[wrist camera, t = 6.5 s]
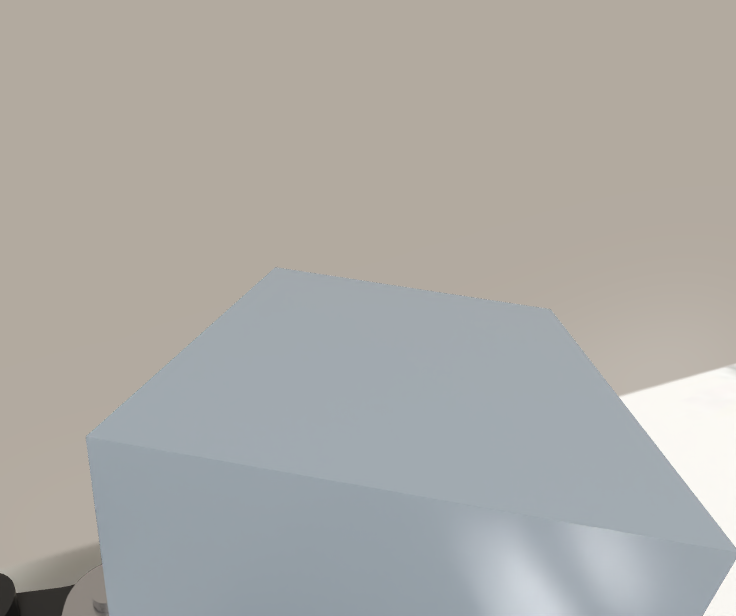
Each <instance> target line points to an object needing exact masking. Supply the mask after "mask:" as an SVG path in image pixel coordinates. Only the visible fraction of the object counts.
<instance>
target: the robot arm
mask: <svg viewBox="0 0 736 616" xmlns="http://www.w3.org/2000/svg"><path fill="white" fill-rule="evenodd" d="M0 616H109V611H108V603H107V596H106V588H105V580H104V573H103V565H102V564H101V565H99V566H97V567H95V568H94V569H92V570H91V571H89V572H88V573H87V574H85V575H84V576H83V577H82V578H81V579H80V580H79V581H78V582H77V583H76V584H75V585H71V586H67V587H62V588H54V589H46V590H38V591H31V592H23V593H16V591H15V587H14V584H13V582H12V580H11V579H10V578H9V577H8V576H6V575H4V574H1V573H0Z"/></svg>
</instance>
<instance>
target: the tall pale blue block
mask: <svg viewBox="0 0 736 616" xmlns="http://www.w3.org/2000/svg"><path fill="white" fill-rule="evenodd" d="M86 442H87V449H88V458H89V465H90V473H91V480H92V488H93V496H94V504H95V511H96V519H97V526H98V534H99V542H100V550H101V557H102V565H103V573H104V580H105V588H106V596H107V603H108V611H109V616H703V614H704V612H705V611H706V609H707V607H708V606H709V604H710V602H711V601H712V599H713V597H714V596H715V594H716V592H717V590H718V589H719V587H720V585H721V584H722V582H723V580H724V579H725V577H726V575H727V574H728V572H729V570H730V568H731V567H732V565H733V563H734V562H735V560H736V547H735V546H734V545H733V544H732V542H731V541H730V540H729V538H728V537H727V536H726V535H725V533H724V532H723V531H722V529H721V528H720V527H719V526H718V524H717V523H716V522H715V520H714V519H713V518H712V517H711V515H710V514H709V513H708V511H707V510H706V509H705V508H704V506H703V505H702V504H701V502H700V501H699V500H698V499H697V497H696V496H695V495H694V493H693V492H692V491H691V490H690V488H689V487H688V486H687V484H686V483H685V482H684V481H683V479H682V478H681V477H680V475H679V474H678V473H677V472H676V470H675V469H674V468H673V466H672V465H671V464H670V463H669V461H668V460H667V459H666V457H665V456H664V455H663V453H662V452H661V451H660V450H659V448H658V447H657V446H656V444H655V443H654V442H653V441H652V439H651V438H650V437H649V435H648V434H647V433H646V432H645V430H644V429H643V428H642V426H641V425H640V424H639V423H638V421H637V420H636V419H635V417H634V416H633V415H632V414H631V412H630V411H629V410H628V408H627V407H626V406H625V405H624V403H623V402H622V401H621V399H620V398H619V397H618V396H617V394H616V393H615V392H614V390H613V389H612V388H611V387H610V385H609V384H608V383H607V381H606V380H605V379H604V378H603V376H602V375H601V374H600V372H599V371H598V370H597V368H596V367H595V366H594V365H593V363H592V362H591V361H590V360H589V358H588V357H587V356H586V354H585V353H584V352H583V350H582V349H581V348H580V347H579V345H578V344H577V343H576V341H575V340H574V339H573V338H572V336H571V335H570V334H569V332H568V331H567V330H566V329H565V327H564V326H563V325H562V323H561V322H560V321H559V320H558V318H557V317H556V316H555V314H554V313H553V312H552V311H551V309H546V308H539V307H532V306H525V305H519V304H513V303H506V302H500V301H493V300H487V299H479V298H473V297H467V296H460V295H454V294H447V293H441V292H434V291H428V290H421V289H414V288H407V287H401V286H395V285H388V284H382V283H375V282H368V281H362V280H355V279H349V278H342V277H336V276H329V275H322V274H316V273H309V272H302V271H296V270H289V269H283V268H277V267H275V268H274V269H273V270H272V271H271V272H270V273H269V274H267V275H266V276H265V277H264V278H263V279H262V280H261V281H259V282H258V283H257V284H256V285H255V286H254V287H253V288H252V289H251V290H249V291H248V292H247V293H246V294H245V295H244V296H243V297H242V298H240V299H239V300H238V301H237V302H236V303H235V304H234V305H233V306H232V307H230V308H229V309H228V310H227V311H226V312H225V313H224V314H223V315H221V316H220V317H219V318H218V319H217V320H216V321H215V322H214V323H212V324H211V325H210V326H209V327H208V328H207V329H206V330H205V331H204V332H202V333H201V334H200V335H199V336H198V337H197V338H196V339H195V340H194V341H192V342H191V343H190V344H189V345H188V346H187V347H186V348H184V349H183V350H182V351H181V352H180V353H179V354H178V355H177V356H176V357H174V358H173V359H172V360H171V361H170V362H169V363H168V364H167V365H165V366H164V367H163V368H162V369H161V370H160V371H159V372H158V373H156V374H155V375H154V376H153V377H152V378H151V379H150V380H149V381H148V382H146V383H145V384H144V385H143V386H142V387H141V388H140V389H139V390H137V391H136V393H134V394H133V395H132V396H131V397H130V398H129V399H127V400H126V401H125V402H124V403H123V404H122V405H121V406H120V407H118V408H117V409H116V410H115V411H114V412H113V413H112V414H111V415H110V416H108V417H107V418H106V419H105V420H104V421H103V422H102V423H101V424H99V425H98V426H97V427H96V428H95V429H94V430H93V431H92V432H91V433H89V434H88V435H87V436H86Z"/></svg>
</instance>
